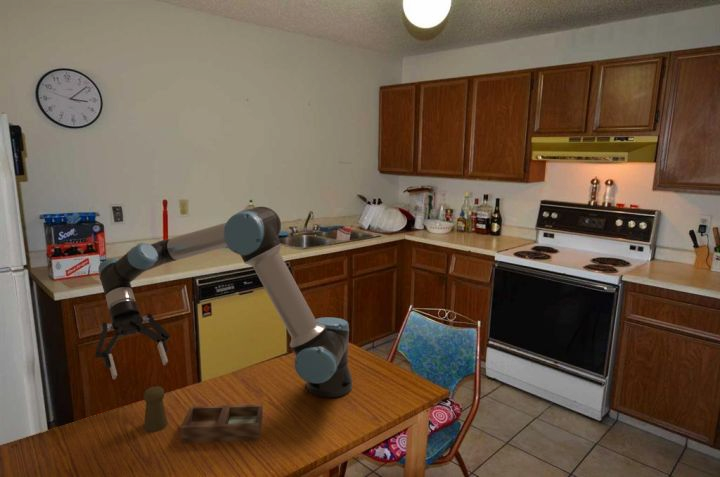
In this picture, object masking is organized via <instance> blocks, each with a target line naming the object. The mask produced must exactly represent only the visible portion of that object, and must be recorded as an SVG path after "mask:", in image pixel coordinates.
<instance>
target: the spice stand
mask: <svg viewBox="0 0 720 477" xmlns="http://www.w3.org/2000/svg"><path fill="white" fill-rule="evenodd" d="M263 413H264V410H263V403H262V404H261V403H260V404H232V405H199V406H195V405H194V406H190V407H189V409H188V411H187V412H186V415H185V417H184V420H182V424H181V426H180V428H179V429H180V444H199V443H203V444H205V443H224V442H226V443H227V442H228V443H229V442H248V441H249V442H250V441H252V442H253V441H255V442H256V441H260V437H261V432H262V425H263V421H264V420H263V419H264V416H263V415H264V414H263Z"/></svg>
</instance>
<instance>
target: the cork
mask: <svg viewBox="0 0 720 477" xmlns="http://www.w3.org/2000/svg"><path fill="white" fill-rule="evenodd" d="M164 398H165V389H164V388H163V387H162V386H157V385H156V386H151V387H149V388H147V389H146V390H145V391H144V393H143V400H144V401H145V411H144V412H145V414H144V424H143V430H145V432H148V433H154V432H155V433H156V432H159V431H161V430H164V429H165V428H166V427H167V426H168V418H167V413H166V408H165V404H164V400H163V399H164Z"/></svg>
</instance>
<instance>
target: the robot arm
mask: <svg viewBox="0 0 720 477" xmlns="http://www.w3.org/2000/svg"><path fill="white" fill-rule="evenodd" d="M281 222H282V221H281V219H280V216H279V215H278V213H277V212H276V211H275V210H274V209H272V208H270V207H267V206H255V207H253V208H249V209H244V210H240V211H238V212H237V213H235V214H233V215H232V216H231V217H230V218H228V220H227V221H226V222H224V223H219V224H216V225H212V226H209V227H206V228H202V229H199V230H195V231H192V232H188V233H185V234H182V235H178V236H175V237H172V238H167V239H163V240H159V241H156V242H154V243H151V244H150V243H146V242H140V243H138V244H137V245H136V246H133V247H131V248H130V250H128V251H127V252H126V253H125V254H124V255H123V256H121V257H120V258H117V257H113V258H108V259H107V260H103V261H102V262H100V263H99V265H98V274H99V280H100V282H101V286H102V289H103V293H104V296H105V301H106V303H107V304H106V305H107V308H108V310H109V315H110V318H111V323H107V322H103V323H102V324H101V327H100V330H101V334H100V337H99V341H98V344H97V345H96V346H97V347H96V350H95V353H94V358H95V359H98V358H101V359H102V360H103V363H104V367H105V368H106V369H109V370H110V374H111V377H112V380H116V379H117V377H118V372H117V368H116V365H115V361H114V357H113V354H112V353H111V351H112V350H113V348H114V346H115V345H116V343H117V342H118V340H119V338H120V336H121V335H122V336H129V335H133V334H136V333H139V334H141V335H144V336H146V337H147V338H148V339H151V340H152V341H154V342H156V343H158V344H157V345H156V346H157V350H158V353H159V355H160V359H161V362H162V365H163V366H166V365H167V364H168V362H169V360H168V356H167V353H168V350H169V349H168V346H167V342H168V341H169V340H170V337H171V334H170V333H169V332H168V331H166V329H165V328H164V327H162V325H161V324H160V323H159V322H157V321H156V320H155V319H154V316H153V314H152V313H148V314H147V315H144V316H142V315H141V314H140V311H139V306H138V304H137V302H136V297H135V294H134V291H133V288H132V282H133V281H134V280H135V279H136V278H138V277H139V276H141V275H142V274H143V273H145V272H147V271H150V270H152V269H155V268H157V267H160V266H162V265H165V264H169V263H172V262H175V261H178V260H182V259H183V260H184V259H186V258H189V257H194V256H197V255H201V254H206V253H209V252H212V251H213V252H214V251H216V250H220V249H224V248H228V249H229V250H230V251H231V252H233V253H234V254H236V255H239V256H240V257H241V258H242V261H243V262H244V264H246V265H248V266H252V267H253V270H254V271H255V274H256V275H257V277H258V279H259V281H260V283H261V284H262V286H263V288H264V290H265V291H266V293H267V295H268V297H269V299H270V301H271V303H272V304H273V306H274V308H275V310H276V312H277V314H278V315H279V317H280V319H281V322H282V323H283V325H284V326H285V329H286V330H287V332H288V334H289V336H290V337H291V340H290V343H289V347H290V348H291V350H292V352H293V354H294V356H295V358H294V364H293V365H294V369H295V373H297V375H298V377H300V379H302V380H304V381H305V382H306V389H307V391H308V392H309V393H310V394H312V395H314V396H316V397H320V398H328V399H329V398H330V399H331V398H338V397H342V396H345V395H347V394H348V393H350V392H351V390H352V389H353V377H352V374H351V370H350V368H349V364H348V363H349V359H348V358H349V336H350V335H349V333H350V329H349V328H350V326H349V322H348V321H347V320H345V319H343V318H340V317H339V318H338V317H330V316H329V317H328V316H327V317H326V316H325V317H319V318H315V316H314V314H313V312H312V310H311V307H310V306H309V305H308V303H307V301H306V299H305V297H304V295H303V293H302V292H301V290H300V288H299V286H298V284H297V283H296V280H295V279H294V277H293V275H292V273H291V270H290V269H289V266H288V265H287V264H286V261H285V260H284V258H283V256H282V255H281V253H280V250H281V247H282V244H281V241H280V239H279V238H278V236H279V235H280V233H281V229H282V223H281ZM143 322H145V323H146V324H148V325H149V326H150V327H151V329H150V328H149V327H147V326H146V325H145V324H144V323H143ZM111 329H112V330H114V331H115V333H114V335H113V336H112V338H111V339H110V341H109V342H108V345H107V346H106V348H105V349H104V351H102V349H103V345H104V344H105V343H104V342H105V339H106V337H107V333H108V332H109V331H110V330H111ZM152 329H153V330H152Z"/></svg>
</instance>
